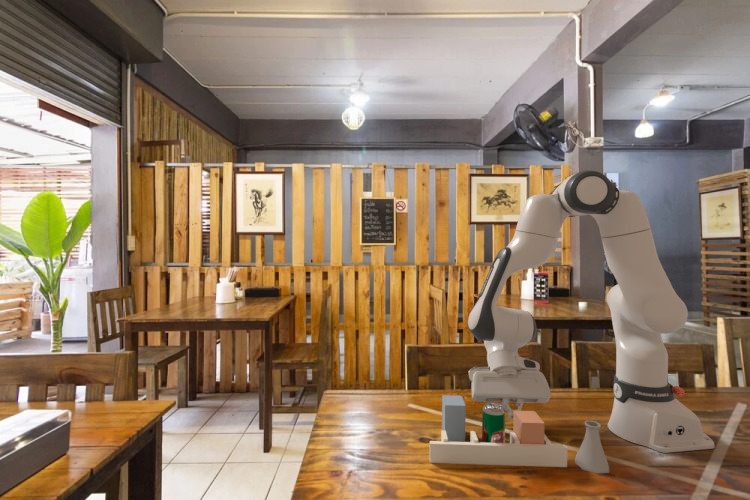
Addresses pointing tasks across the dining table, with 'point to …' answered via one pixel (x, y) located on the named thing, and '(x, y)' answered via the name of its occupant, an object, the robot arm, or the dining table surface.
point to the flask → (592, 450)
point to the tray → (498, 452)
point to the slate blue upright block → (453, 417)
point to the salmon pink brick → (528, 427)
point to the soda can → (493, 423)
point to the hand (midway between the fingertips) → (515, 418)
